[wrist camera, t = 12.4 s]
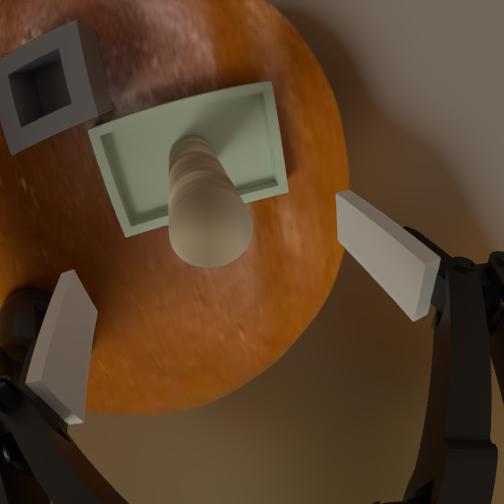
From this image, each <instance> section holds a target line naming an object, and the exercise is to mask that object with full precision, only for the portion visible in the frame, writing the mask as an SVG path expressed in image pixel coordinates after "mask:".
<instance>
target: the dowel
mask: <svg viewBox="0 0 504 504" xmlns="http://www.w3.org/2000/svg"><path fill="white" fill-rule="evenodd" d="M252 234H253V221H252V217H251V214H250V212H249V210H248V209H247V207H246V205H245V203H244V202H243V200H242V198H241V197H240V195H239V193H238V192H237V190H236V188H235V186H234V185H233V183H232V181H231V180H230V178H229V176H228V175H227V173H226V171H225V170H224V168H223V166H222V165H221V163H220V161H219V159H218V158H217V156H216V154H215V153H214V151H213V149H212V148H211V146H210V144H209V143H208V142H207V141H206V140H205V139H204V138H202V137H200V136H197V135H186V136H183V137H181V138H179V139H178V140H177V141H176V142H175V143H174V144H173V145H172V147H171V149H170V153H169V239H170V243H171V245H172V248H173V250H174V251H175V253H176V254H177V255H178V256H179V257H180V258H181V259H182V260H184V261H185V262H187V263H188V264H190V265H193V266H196V267H200V268H216V267H220V266H223V265H226V264H228V263H231V262H232V261H234V260H235V259H237V258H238V257H239V256H240V255H241V254H242V253H243V252H244V251H245V250H246V248H247V247H248V245H249V243H250V241H251V238H252Z"/></svg>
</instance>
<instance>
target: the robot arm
mask: <svg viewBox="0 0 504 504" xmlns="http://www.w3.org/2000/svg"><path fill="white" fill-rule="evenodd" d="M336 209H337V233H338V241H339V242H340V243H341V244H342V245H343V246H344V247H345V248H346V249H347V251H349V253H351V255H352V256H353V257H354V258H355V259H356V260H357V261H358V262H359V263H360V264H361V265H362V266H363V267H364V268H365V269H366V270H367V271H368V272H369V273H370V274H371V276H372V277H373V278H374V279H375V280H376V281H377V282H378V283H379V284H380V285H381V286H382V287H383V289H384V290H385V291H386V292H387V293H388V294H389V295H390V296H391V297H392V298H393V299H394V301H395V302H396V303H397V304H398V305H399V306H400V307H401V308H402V309H403V311H404V312H405V313H406V314H407V315H408V316H409V317H410V318H411V320H412V321H416V320H417V319H420V318H421V317H423V316H425V315H427V314H428V311H429V306H430V303H431V304H432V305H433V306H434V307H435V308H436V311H435V314H434V318H433V321H432V324H431V328H433V326H434V338H433V339H434V340H433V355H432V367H431V377H430V387H429V395H428V402H427V409H426V416H425V422H424V428H423V433H422V438H421V443H420V449H419V453H418V458H417V462H416V466H415V469H414V472H413V474H412V476H411V478H410V480H409V483H408V485H407V488H406V491H405V494H404V498H403V501H400V502H388V503H383V504H491V501H492V496H493V489H494V483H495V476H496V469H497V459H498V449H497V447H496V445H495V444H493V443H492V442H491V440H490V431H491V403H492V401H491V400H492V398H491V397H492V395H491V391H492V390H491V362H490V356H491V359H492V362H493V366H494V369H495V373H496V376H497V380H498V384H499V387H500V391H501V396H502V400H503V403H504V306H503V304H502V303H504V252H501V251H495V252H492V253H491V254H490V256H489V260H488V263H484V264H477V265H476V264H475V263H474V262H473V261H471V260H469V259H468V258H464V257H453V258H451V256H449V255H448V254H447V253H445V252H444V251H443V250H442V249H441V248H439V247H438V246H437V245H435V244H434V243H433V242H431V241H430V240H429V239H428V238H425V237H424V235H422V234H421V233H420V232H418V231H417V230H415V229H412V228H410V227H407V226H405V227H401V226H399V225H398V224H397V223H395V222H394V221H393V220H391V219H390V218H388V217H387V216H386V215H384V214H383V213H382V212H380V211H379V210H377V209H376V208H375V207H373V206H372V205H370V204H369V203H368V202H366V201H364V200H363V199H362V198H360V197H359V196H358V195H356V194H355V193H353V192H352V191H350V190H345V191H341V192H337V193H336ZM97 314H98V311H97V309H96V308H95V306H94V304H93V303H92V301H91V299H90V297H89V296H88V294H87V292H86V290H85V289H84V287H83V285H82V283H81V281H80V280H79V278H78V276H77V274H76V272H75V270H74V269H73V270H70V271H67V272H64V273H61V276H60V278H59V280H58V283H57V285H56V288H55V291H54V293H53V294H51V293H48V292H45V291H41V290H35V289H25V290H20V291H17V292H15V293H13V294H11V295H10V296H9V297H8V298H7V299H6V301H5V302H4V304H3V306H2V308H1V310H0V504H51V502H52V503H53V504H129V503H128V502H127V501H126V500H125V499H124V498H123V497H122V496H121V495H120V494H119V493H118V492H117V491H116V490H115V489H114V488H113V487H112V486H111V485H110V484H109V483H108V482H107V480H106V479H105V478H104V477H103V476H102V475H101V474H100V473H99V472H98V471H97V469H96V468H95V467H94V466H93V465H92V464H91V462H90V461H89V460H88V459H87V458H86V456H85V455H84V454H83V453H82V452H81V450H80V449H79V448H78V447H77V445H76V444H75V443H74V442H73V440H72V439H71V438H70V436H69V435H68V433H67V427H68V424H76V423H84V417H85V403H86V392H87V382H88V373H89V365H90V357H91V350H92V343H93V337H94V331H95V325H96V319H97ZM50 500H51V502H50ZM373 504H380V502H379V501H377V502H375V503H373Z"/></svg>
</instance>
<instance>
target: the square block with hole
mask: <svg viewBox="0 0 504 504" xmlns="http://www.w3.org/2000/svg"><path fill="white" fill-rule="evenodd" d="M111 110H113V105H112V101H111V97H110V93H109V89H108V85H107V81H106V77H105V73H104V69H103V64H102V60H101V55H100V51H99V46H98V41H97V36H96V31H94V30H93V29H91V28H90V27H88V26H87V25H85V24H83V23H82V22H80V21H79V20H77V19H75V20H73V21H71V22H69V23H66V24H64V25H62V26H60V27H58V28H55V29H53V30H51V31H49V32H47V33H45V34H43V35H41V36H39V37H37V38H35V39H33V40H32V41H30V42H28V43H26V44H24V45H22V46H21V47H19V48H17V49H16V50H14V51H12V52H10V53H9V54H7V55H5V56H4V57H2V58H1V59H0V121H1V125H2V128H3V132H4V135H5V138H6V142H7V145H8V148H9V151H10V154H11V156H13V155H14V154H16V153H18V152H20V151H22V150H24V149H26V148H28V147H30V146H32V145H34V144H36V143H38V142H40V141H42V140H44V139H46V138H49V137H51V136H53V135H55V134H57V133H59V132H62V131H64V130H66V129H69V128H71V127H73V126H76V125H78V124H81V123H83V122H86V121H88V120H91V119H93V118H96V117H98V116H100V115H103V114H105V113H107V112H109V111H111Z"/></svg>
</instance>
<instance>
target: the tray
mask: <svg viewBox="0 0 504 504" xmlns="http://www.w3.org/2000/svg"><path fill="white" fill-rule="evenodd" d="M88 134H89V137H90V140H91V144H92V147H93V150H94V153H95V156H96V159H97V162H98V165H99V168H100V171H101V174H102V177H103V180H104V183H105V185H106V188H107V191H108V194H109V197H110V199H111V202H112V205H113V207H114V210H115V213H116V215H117V218H118V220H119V223H120V225H121V228H122V230H123V233H124V235H125V238H126V237H130V236H133V235H136V234H139V233H142V232H146V231H149V230H152V229H156V228H159V227H162V226H166V225H169V153H170V149H171V147H172V145H173V144H174V143H175V142H176V141H177V140H178V139H179V138H181V137H183V136H186V135H197V136H200V137H202V138H204V139H205V140H206V141H207V142H208V143H209V144H210V146H211V148H212V149H213V151H214V153H215V154H216V156H217V158H218V159H219V161H220V163H221V165H222V166H223V168H224V170H225V171H226V173H227V175H228V176H229V178H230V180H231V181H232V183H233V185H234V186H235V188H236V190H237V192H238V193H239V195H240V197H241V198H242V200H243V202H244V203H248V202H252V201H256V200H260V199H264V198H267V197H271V196H275V195H279V194H283V193H287V192H289V191H288V184H287V177H286V169H285V162H284V156H283V149H282V142H281V135H280V129H279V123H278V116H277V110H276V104H275V98H274V92H273V86H272V81H261V82H255V83H249V84H244V85H238V86H233V87H228V88H223V89H219V90H214V91H209V92H205V93H201V94H197V95H193V96H189V97H185V98H181V99H177V100H173V101H170V102H166V103H163V104H159V105H156V106H152V107H149V108H146V109H143V110H139V111H136V112H133V113H130V114H127V115H124V116H121V117H118V118H115V119H113V120H110V121H107V122H104V123H102V124H99V125H96V126H94V127H92V128H91V129H89V130H88Z"/></svg>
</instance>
